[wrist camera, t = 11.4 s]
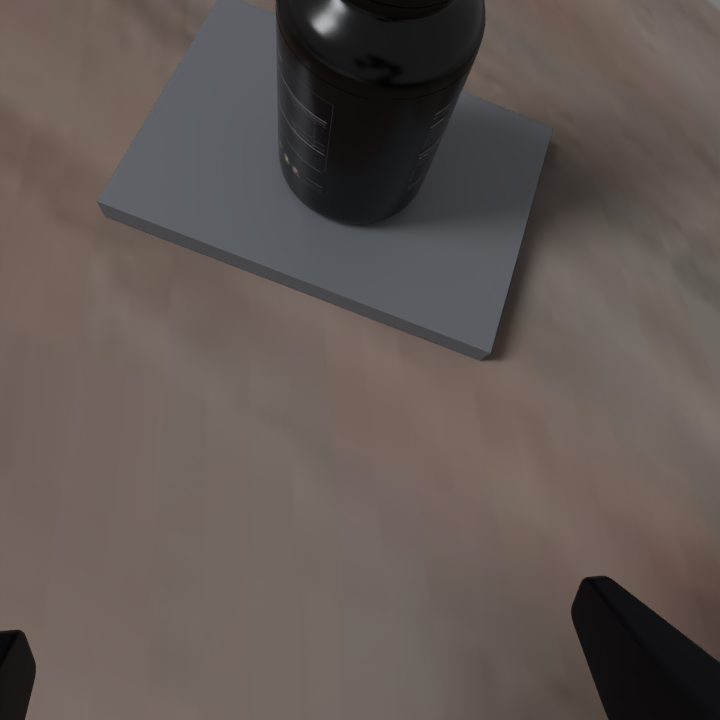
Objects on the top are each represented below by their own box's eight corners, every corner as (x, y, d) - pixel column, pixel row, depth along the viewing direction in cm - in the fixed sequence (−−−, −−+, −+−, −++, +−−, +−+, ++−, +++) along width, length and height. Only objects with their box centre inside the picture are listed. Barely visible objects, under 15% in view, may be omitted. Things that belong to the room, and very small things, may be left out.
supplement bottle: (376, 86, 26) (454, -242, 15) (447, 197, 25) (592, -66, 14) (249, 131, 24) (227, -204, 13) (320, 253, 23) (364, 3, 12)
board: (541, 143, 28) (552, 128, 27) (480, 360, 24) (490, 353, 23) (223, 13, 27) (221, -8, 26) (105, 216, 23) (96, 201, 22)
